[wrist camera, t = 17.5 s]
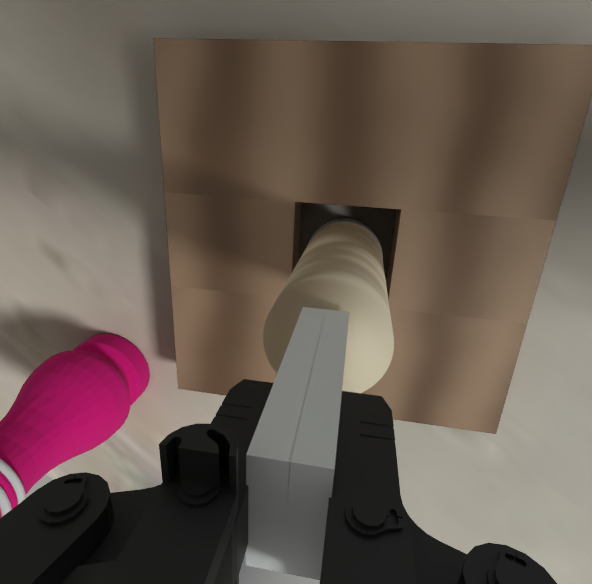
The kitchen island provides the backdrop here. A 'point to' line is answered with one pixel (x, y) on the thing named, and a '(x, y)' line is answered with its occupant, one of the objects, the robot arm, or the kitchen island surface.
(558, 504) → the kitchen island surface
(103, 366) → the pepper mill
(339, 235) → the beech peg
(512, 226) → the walnut board
